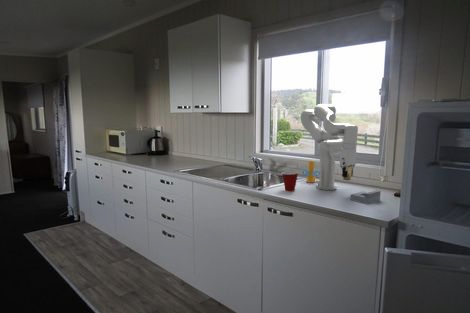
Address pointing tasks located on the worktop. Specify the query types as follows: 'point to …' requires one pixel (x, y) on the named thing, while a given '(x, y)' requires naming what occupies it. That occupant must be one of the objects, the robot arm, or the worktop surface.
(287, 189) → the plastic cup
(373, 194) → the jig
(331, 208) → the worktop surface
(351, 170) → the bushing
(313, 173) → the toy airplane
